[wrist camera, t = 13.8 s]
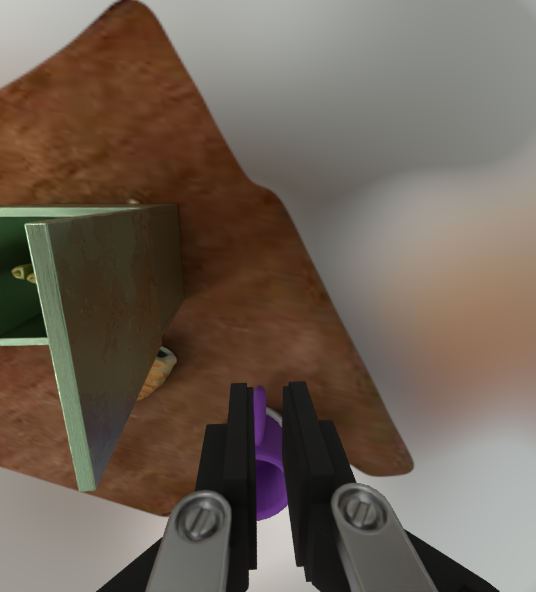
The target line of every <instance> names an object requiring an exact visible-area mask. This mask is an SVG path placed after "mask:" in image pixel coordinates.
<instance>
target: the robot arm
mask: <svg viewBox="0 0 536 592" xmlns="http://www.w3.org/2000/svg"><path fill="white" fill-rule="evenodd" d="M282 463H283V471H284V478H285V486H286V493H287V501H288V508H289V515H290V522H291V530H292V538H293V545H294V552H295V560H296V565H297V567H302V566H304V571H305V577H306V582H312V585H314V586H315V587H316V588H317V589H318V590H319V591H320V592H499V590H497V589H496V588H495V587H493V586H492V585H491V584H490V583H488V582H487V581H485V580H484V579H482V578H481V577H479V576H478V575H476V574H474V573H473V572H471V571H470V570H468V569H467V568H465V567H463V566H462V565H460V564H459V563H457V562H455V561H454V560H452V559H451V558H449V557H448V556H446V555H444V554H443V553H441V552H440V551H438V550H436V549H435V548H433V547H431V546H430V545H429V544H427V543H426V542H424V541H422V540H421V539H419V538H418V537H416V536H414V535H413V534H411V533H410V532H408V531H406V530H405V529H404V528H403V527H402V525H401V523H400V521H399V519H398V518H397V516H396V514H395V512H394V510H393V508H392V507H391V505H390V503H389V502H388V501H387V499H386V498H385V497H384V496H383V495H382V494H381V493H379V491H377V490H376V489H374V488H372V487H370V486H368V485H364V484H361V483H356V480H355V478H354V475H353V472H352V470H351V467H350V464H349V462H348V459H347V457H346V454H345V451H344V449H343V446H342V444H341V441H340V438H339V436H338V433H337V431H336V428H335V425H334V423H333V421H332V420H318V419H317V416H316V413H315V410H314V407H313V404H312V400H311V397H310V394H309V391H308V388H307V385H306V382H305V381H300V382H289V386H283V412H282ZM255 569H257V508H256V455H255V427H254V398H253V387H247V383H232V384H231V389H230V401H229V413H228V424H209V425H207V426H206V431H205V436H204V442H203V448H202V453H201V459H200V465H199V471H198V476H197V482H196V488H195V492H194V493H191V494H188V495H187V496H185V497H184V498H183V499H181V500H180V501H179V502H178V503H177V504H176V505H175V507H174V508H173V510H172V512H171V514H170V516H169V519H168V522H167V525H166V528H165V532H164V535H163V537H162V538H160V539H159V540H158V541H157V542H156V543H155V544H153V545H152V546H151V547H150V548H148V549H147V550H146V551H145V552H144V553H142V554H141V555H140V556H139V557H138V558H136V559H135V560H134V561H133V562H131V563H130V564H129V565H128V566H127V567H125V568H124V569H123V570H122V571H121V572H119V573H118V574H117V575H116V576H115V577H113V578H112V579H111V580H110V581H109V582H107V583H106V584H105V585H104V586H102V587H101V588H100V589H99V590H98V591H96V592H246V591H247V589H248V586H249V570H255Z"/></svg>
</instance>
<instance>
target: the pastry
mask: <svg viewBox="0 0 536 592" xmlns="http://www.w3.org/2000/svg"><path fill="white" fill-rule="evenodd" d="M176 363H177V359H176V356H174V354H173V353H172V352H171V351H170V350H168V349H167V348H164V347H162V346H161V348H160V350H159V352H158V354H157V357H156V359H155V361H154V363H153V365H152V368H151V370H150V372H149V374H148V376H147V378H146V381H145V383H144V385H143V387H142V389H141V392H140V394H139V396H138V398H137V400H136V401H139V400H141V399H143V398H145V397H147V396H149V395H150V394H151V393H152V392H154V391H155V390H156V388H157V387H160V386H161V385H162V384H163V383H164V381H165V379H166V377H168V376H169V374H170V372H171V370H172V368H173V366H174V365H175V364H176Z"/></svg>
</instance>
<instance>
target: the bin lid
mask: <svg viewBox="0 0 536 592" xmlns="http://www.w3.org/2000/svg"><path fill="white" fill-rule="evenodd" d="M24 226H25V231H26V235H27V240H28V245H29V250H30V255H31V260H32V265H33V270H34V275H35V279H36V284H37V289H38V294H39V299H40V304H41V309H42V314H43V319H44V323H45V328H46V333H47V338H48V343H49V348H50V353H51V358H52V363H53V367H54V372H55V377H56V382H57V387H58V392H59V397H60V402H61V406H62V411H63V416H64V421H65V426H66V431H67V436H68V441H69V446H70V450H71V455H72V460H73V465H74V470H75V475H76V480H77V485H78V490H79V491H80V492H81V491H93V490H96V488H97V486H98V483H99V481H100V479H101V477H102V475H103V472H104V470H105V468H106V466H107V464H108V462H109V459H110V457H111V455H112V453H113V451H114V448H115V446H116V444H117V442H118V440H119V438H120V435H121V433H122V431H123V429H124V427H125V424H126V422H127V420H128V418H129V416H130V413H131V411H132V409H133V407H134V405H135V403H136V400H137V398H138V396H139V394H140V392H141V389H142V387H143V385H144V383H145V381H146V378H147V376H148V374H149V372H150V370H151V368H152V365H153V363H154V361H155V359H156V357H157V354H158V352H159V350H160V348H161V346H162V338H161V328H160V317H159V307H158V296H157V286H156V275H155V265H154V255H153V244H152V234H151V223H150V213H149V208H135V209H128V210H120V211H113V212H105V213H97V214H90V215H82V216H74V217H67V218H59V219H52V220H44V221H36V222H29V223H25V225H24Z"/></svg>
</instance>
